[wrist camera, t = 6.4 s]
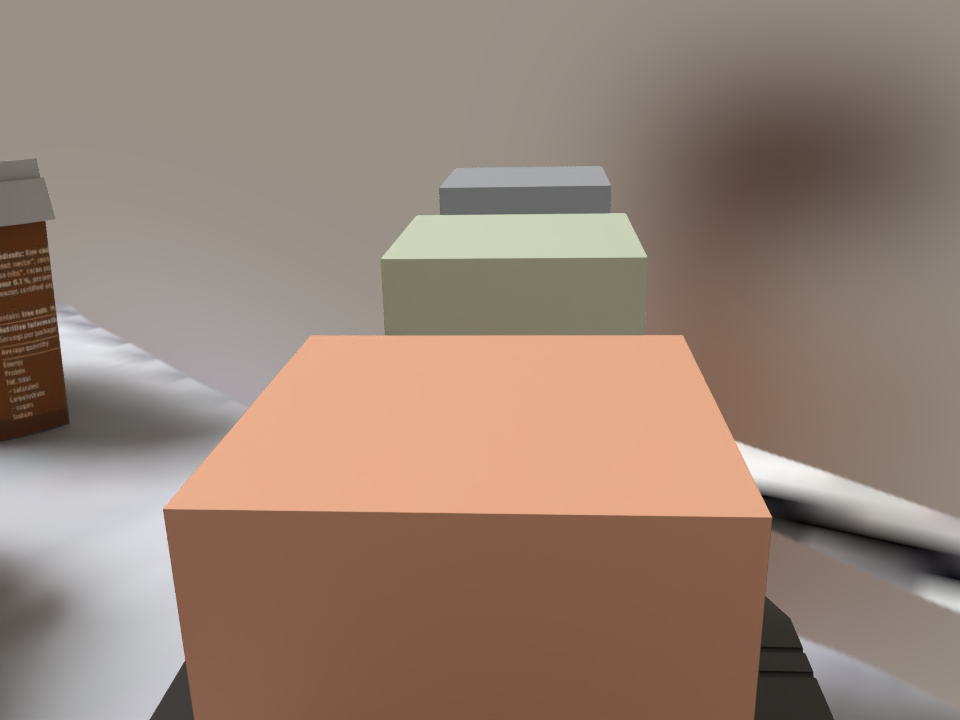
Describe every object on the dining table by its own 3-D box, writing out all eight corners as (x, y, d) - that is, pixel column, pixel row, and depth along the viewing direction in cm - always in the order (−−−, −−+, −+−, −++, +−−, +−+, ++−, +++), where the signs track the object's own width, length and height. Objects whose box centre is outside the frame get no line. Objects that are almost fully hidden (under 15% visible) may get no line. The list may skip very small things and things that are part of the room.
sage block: (410, 785, 17) (381, 259, 14) (435, 652, 21) (416, 215, 17) (627, 793, 17) (647, 257, 13) (612, 656, 20) (625, 213, 17)
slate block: (453, 561, 24) (439, 188, 21) (466, 494, 28) (455, 168, 25) (602, 564, 24) (611, 185, 21) (595, 495, 28) (601, 166, 25)
